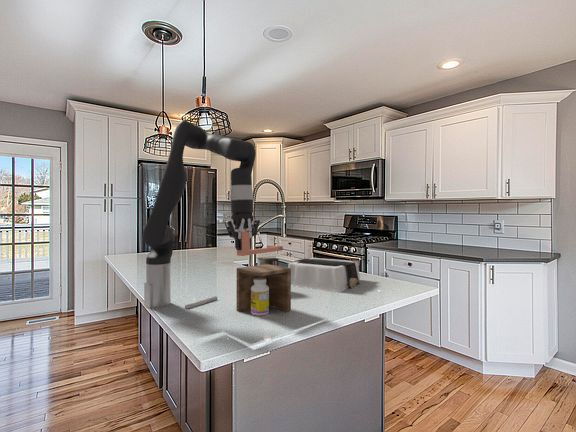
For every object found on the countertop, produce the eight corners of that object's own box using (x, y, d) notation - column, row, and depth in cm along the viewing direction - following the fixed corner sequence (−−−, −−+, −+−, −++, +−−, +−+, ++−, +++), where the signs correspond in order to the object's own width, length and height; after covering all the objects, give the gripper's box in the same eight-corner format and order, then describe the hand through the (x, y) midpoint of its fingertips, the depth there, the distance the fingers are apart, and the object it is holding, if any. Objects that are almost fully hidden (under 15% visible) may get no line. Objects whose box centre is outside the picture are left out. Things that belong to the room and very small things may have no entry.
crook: (242, 256, 109) (241, 232, 109) (228, 254, 115) (227, 231, 115) (284, 250, 123) (283, 229, 123) (269, 249, 129) (268, 229, 129)
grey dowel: (184, 306, 127) (186, 310, 126) (186, 303, 126) (188, 307, 126) (213, 297, 141) (215, 301, 140) (215, 295, 140) (218, 298, 139)
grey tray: (366, 283, 175) (366, 260, 175) (343, 297, 147) (343, 269, 147) (308, 277, 193) (308, 256, 193) (278, 287, 165) (278, 263, 165)
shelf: (259, 319, 113) (259, 272, 113) (236, 310, 123) (236, 268, 123) (290, 311, 124) (290, 268, 123) (267, 303, 134) (267, 264, 134)
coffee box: (276, 290, 158) (276, 257, 158) (279, 293, 152) (279, 258, 152) (257, 291, 155) (257, 257, 155) (259, 294, 149) (259, 259, 149)
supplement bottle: (248, 312, 122) (248, 277, 122) (265, 310, 125) (265, 276, 125) (254, 317, 116) (254, 281, 116) (271, 315, 119) (271, 279, 119)
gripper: (231, 198, 104) (232, 252, 104) (264, 198, 114) (266, 248, 114) (218, 199, 109) (219, 251, 109) (251, 200, 119) (252, 247, 119)
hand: (243, 249), depth 111 cm, fingers closed on crook, 3 cm apart
